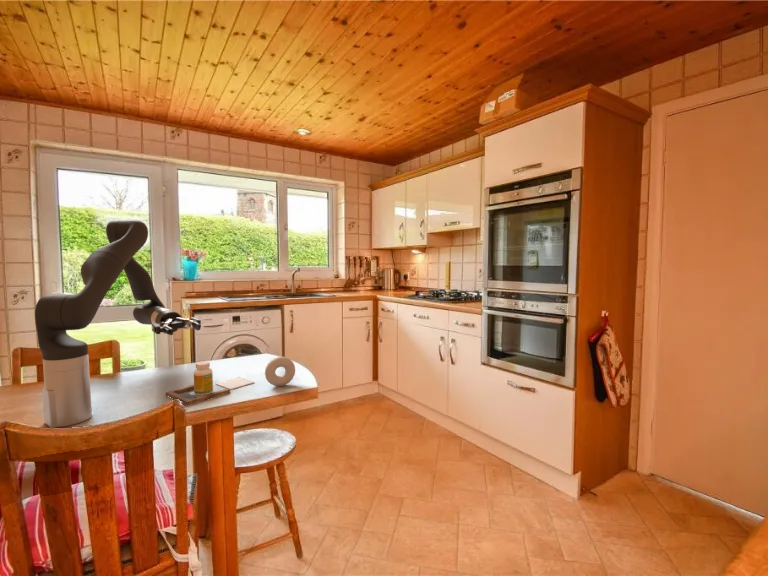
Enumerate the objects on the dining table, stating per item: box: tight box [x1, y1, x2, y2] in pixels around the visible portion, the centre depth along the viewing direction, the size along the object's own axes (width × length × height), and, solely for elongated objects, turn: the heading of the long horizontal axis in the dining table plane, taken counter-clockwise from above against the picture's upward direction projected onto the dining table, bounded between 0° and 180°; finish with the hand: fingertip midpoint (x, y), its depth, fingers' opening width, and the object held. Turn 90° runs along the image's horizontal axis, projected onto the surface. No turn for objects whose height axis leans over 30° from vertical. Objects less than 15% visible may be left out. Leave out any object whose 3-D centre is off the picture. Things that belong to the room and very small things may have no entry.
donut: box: [264, 356, 296, 387], centre depth 129 cm, size 10×4×10 cm, turn 116°
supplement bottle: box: [193, 360, 214, 396], centre depth 122 cm, size 5×5×10 cm
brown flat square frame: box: [165, 384, 231, 407], centre depth 121 cm, size 14×14×1 cm
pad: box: [215, 376, 255, 391], centre depth 131 cm, size 9×9×1 cm
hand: (185, 329), depth 127 cm, fingers open, 8 cm apart
